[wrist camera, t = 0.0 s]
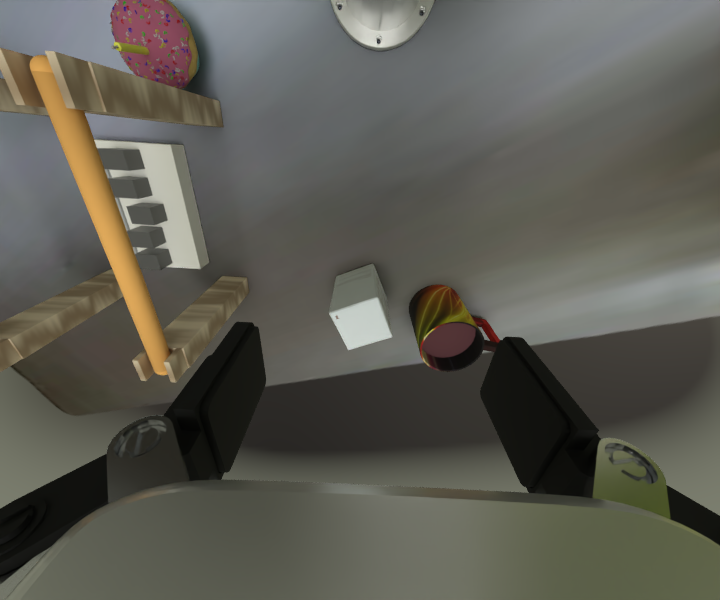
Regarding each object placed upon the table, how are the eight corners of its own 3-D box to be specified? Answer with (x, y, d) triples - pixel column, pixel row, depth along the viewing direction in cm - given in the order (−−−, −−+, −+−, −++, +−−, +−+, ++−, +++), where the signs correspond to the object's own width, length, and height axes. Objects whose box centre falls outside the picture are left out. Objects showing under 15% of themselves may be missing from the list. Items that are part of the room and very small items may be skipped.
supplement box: (350, 308, 53) (346, 351, 42) (335, 275, 49) (327, 312, 38) (387, 297, 51) (393, 338, 40) (374, 262, 48) (377, 296, 37)
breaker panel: (98, 139, 40) (58, 138, 34) (183, 144, 40) (155, 144, 34) (140, 258, 48) (113, 271, 43) (209, 262, 48) (190, 276, 43)
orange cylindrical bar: (44, 58, 20) (13, 50, 18) (73, 60, 20) (44, 52, 18) (163, 366, 34) (152, 378, 32) (179, 367, 34) (169, 379, 32)
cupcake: (223, 92, 37) (166, 70, 26) (163, 101, 37) (84, 84, 27) (197, 2, 32) (117, -66, 22) (130, 14, 33) (21, -46, 23)
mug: (483, 319, 54) (512, 362, 43) (412, 332, 55) (423, 376, 45) (483, 275, 49) (515, 310, 39) (405, 290, 51) (416, 327, 40)
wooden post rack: (34, 88, 37) (-340, 24, 17) (219, 101, 37) (57, 51, 18) (116, 284, 51) (-39, 371, 31) (249, 292, 51) (178, 382, 32)
